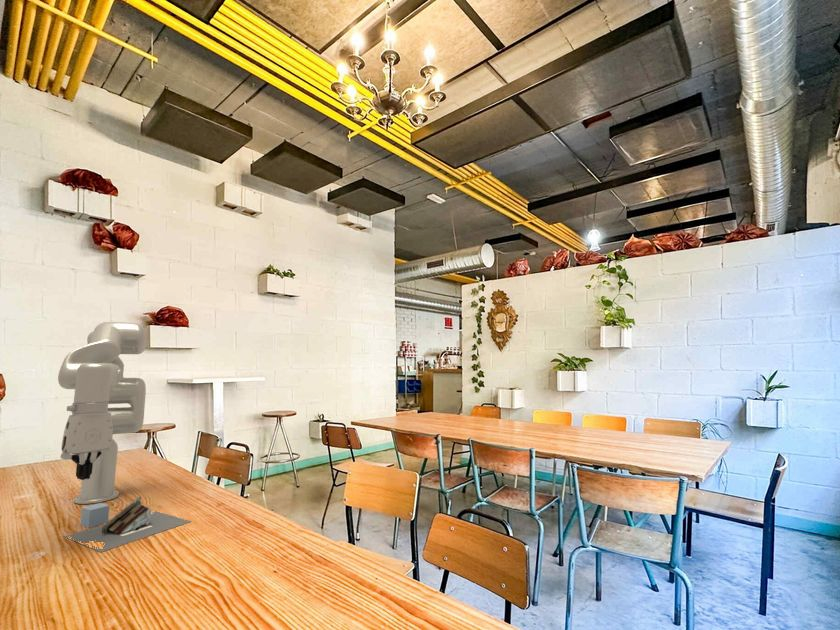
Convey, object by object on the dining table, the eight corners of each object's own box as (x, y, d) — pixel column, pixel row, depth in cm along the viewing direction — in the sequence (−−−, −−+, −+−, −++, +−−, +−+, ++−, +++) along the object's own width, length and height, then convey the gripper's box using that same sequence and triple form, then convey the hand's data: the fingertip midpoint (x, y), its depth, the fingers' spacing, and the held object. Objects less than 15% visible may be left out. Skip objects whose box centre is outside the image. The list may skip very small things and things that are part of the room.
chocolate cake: (118, 540, 112) (154, 499, 121) (98, 530, 114) (135, 490, 123) (132, 553, 119) (165, 513, 127) (113, 543, 120) (147, 505, 129)
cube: (80, 525, 123) (81, 507, 123) (99, 519, 127) (101, 502, 128) (88, 528, 120) (90, 510, 121) (107, 522, 125) (109, 505, 125)
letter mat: (63, 536, 114) (63, 536, 114) (153, 510, 135) (153, 510, 135) (100, 552, 104) (100, 551, 104) (191, 521, 125) (191, 521, 125)
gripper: (63, 412, 104) (54, 487, 102) (127, 407, 117) (121, 474, 115) (50, 410, 108) (41, 483, 106) (114, 406, 121) (107, 471, 119)
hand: (83, 478), depth 110 cm, fingers closed
